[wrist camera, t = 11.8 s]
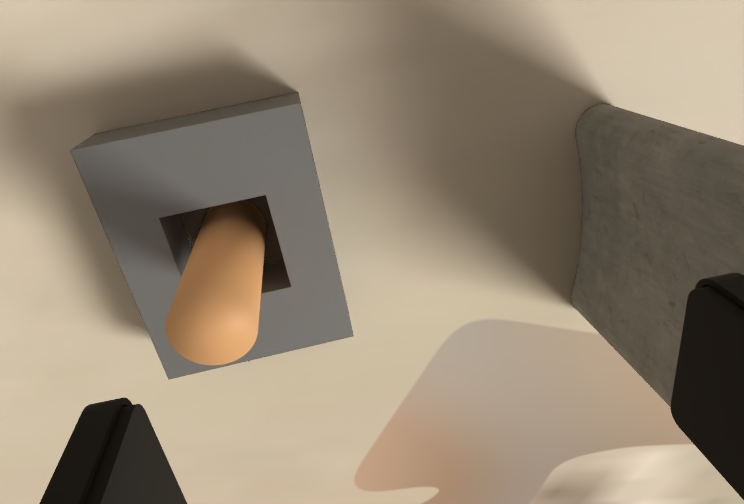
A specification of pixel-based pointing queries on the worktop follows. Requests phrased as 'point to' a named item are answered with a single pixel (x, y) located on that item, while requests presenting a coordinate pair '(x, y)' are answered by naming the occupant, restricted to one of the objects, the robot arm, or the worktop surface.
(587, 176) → the hip flask
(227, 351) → the long pin
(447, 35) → the worktop surface
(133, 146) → the hole block
